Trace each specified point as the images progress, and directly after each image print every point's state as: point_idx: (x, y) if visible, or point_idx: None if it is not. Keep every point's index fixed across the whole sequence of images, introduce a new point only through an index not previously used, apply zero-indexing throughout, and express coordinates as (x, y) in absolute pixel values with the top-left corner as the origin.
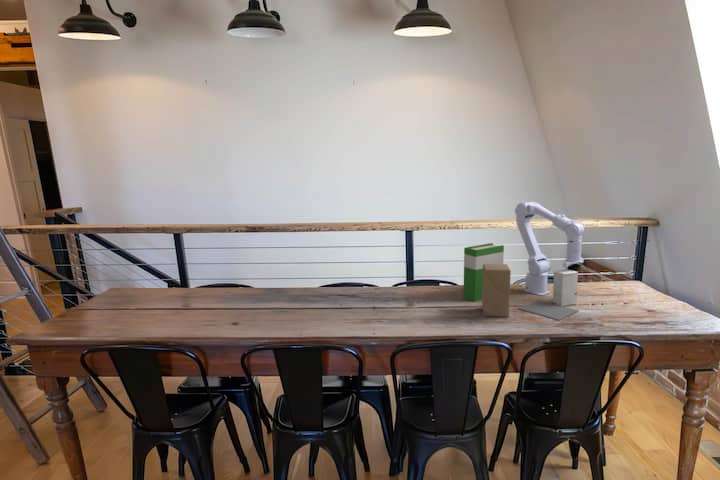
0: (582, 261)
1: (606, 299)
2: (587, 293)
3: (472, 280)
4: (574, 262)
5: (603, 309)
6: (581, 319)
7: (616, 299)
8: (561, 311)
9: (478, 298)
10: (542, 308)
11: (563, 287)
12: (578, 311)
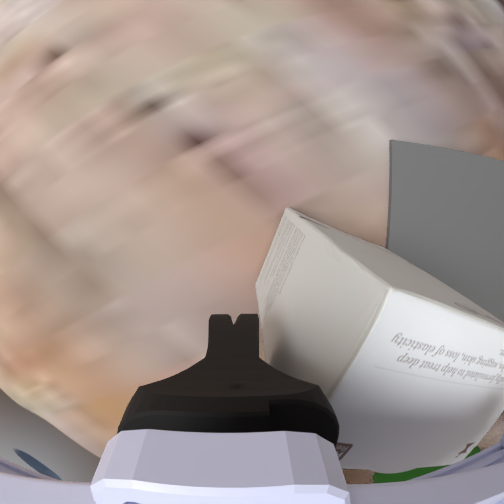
0: (224, 495)
1: (52, 144)
2: (38, 272)
3: None
4: (468, 496)
5: (245, 55)
6: (467, 95)
7: (23, 116)
8: (459, 204)
9: (471, 454)
10: (469, 289)
11: (448, 286)
12: (393, 141)
